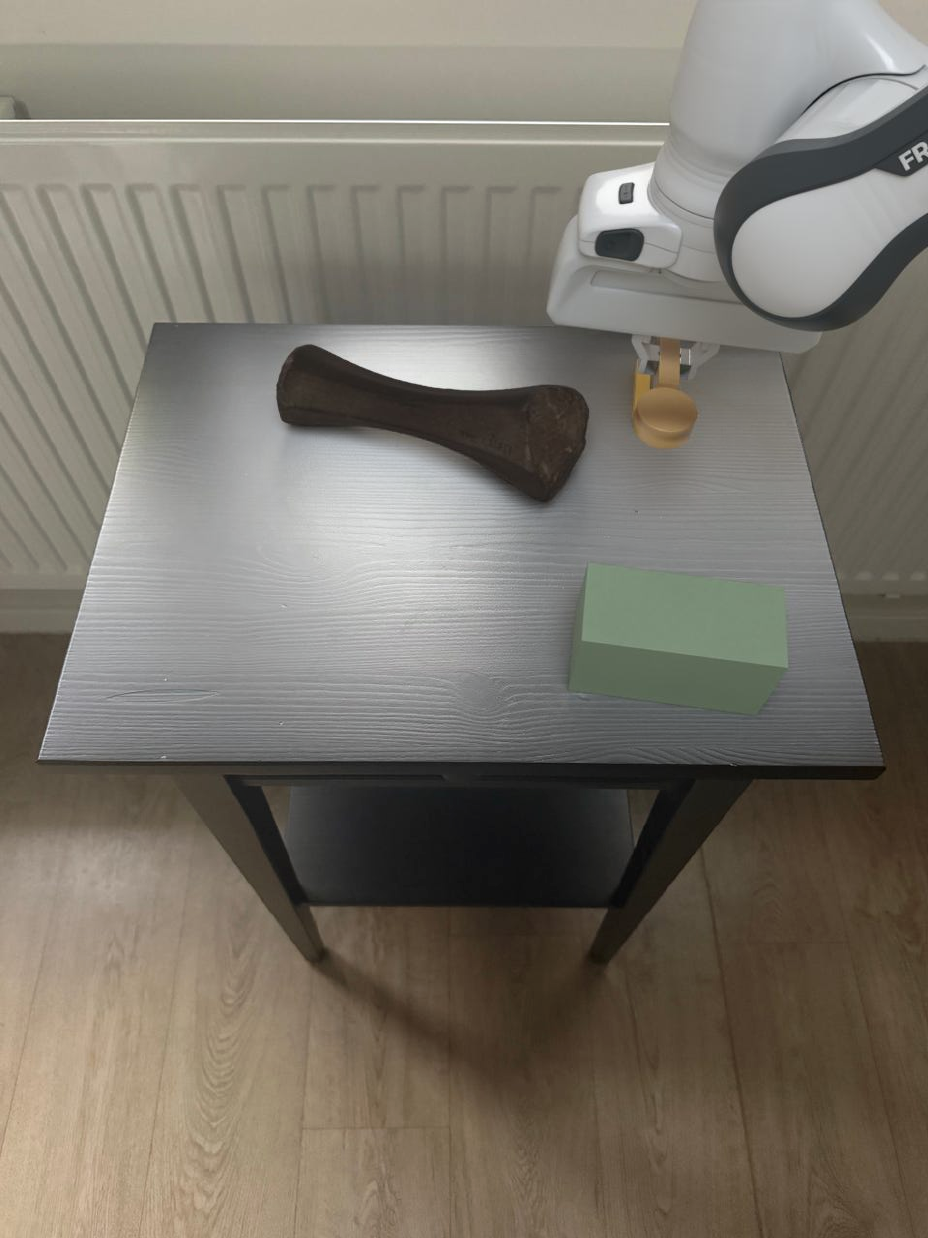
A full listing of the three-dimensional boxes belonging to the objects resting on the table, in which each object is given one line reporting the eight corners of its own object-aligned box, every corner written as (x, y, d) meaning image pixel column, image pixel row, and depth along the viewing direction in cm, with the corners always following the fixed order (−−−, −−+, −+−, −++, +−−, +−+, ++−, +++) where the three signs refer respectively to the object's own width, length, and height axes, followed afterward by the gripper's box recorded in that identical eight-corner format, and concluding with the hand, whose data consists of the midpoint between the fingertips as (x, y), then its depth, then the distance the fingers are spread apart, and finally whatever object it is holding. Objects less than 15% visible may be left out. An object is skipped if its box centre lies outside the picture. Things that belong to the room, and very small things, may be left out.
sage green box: (754, 640, 78) (784, 587, 71) (756, 716, 74) (788, 667, 68) (574, 616, 79) (587, 562, 72) (567, 690, 75) (581, 640, 68)
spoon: (637, 324, 79) (643, 300, 77) (692, 330, 79) (699, 307, 77) (630, 445, 72) (637, 423, 70) (691, 453, 71) (699, 431, 69)
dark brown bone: (585, 482, 89) (313, 437, 95) (599, 371, 84) (311, 331, 90) (561, 524, 80) (262, 471, 86) (576, 402, 75) (257, 356, 81)
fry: (648, 371, 94) (651, 360, 93) (646, 422, 91) (648, 412, 89) (634, 369, 94) (637, 358, 93) (631, 420, 91) (634, 410, 89)
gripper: (861, 207, 65) (793, 359, 76) (564, 173, 65) (543, 329, 77) (869, 267, 61) (797, 416, 73) (557, 230, 62) (535, 384, 74)
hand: (664, 371), depth 75 cm, fingers closed on spoon, 2 cm apart
